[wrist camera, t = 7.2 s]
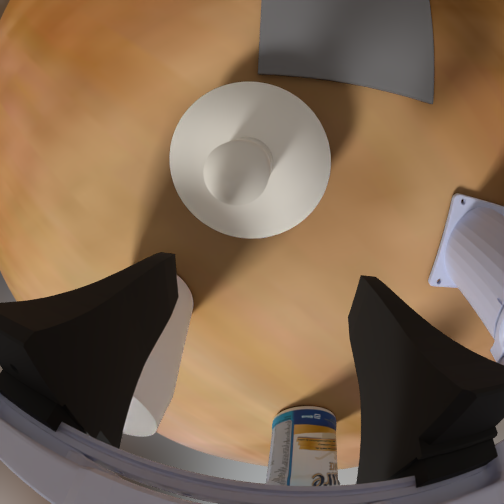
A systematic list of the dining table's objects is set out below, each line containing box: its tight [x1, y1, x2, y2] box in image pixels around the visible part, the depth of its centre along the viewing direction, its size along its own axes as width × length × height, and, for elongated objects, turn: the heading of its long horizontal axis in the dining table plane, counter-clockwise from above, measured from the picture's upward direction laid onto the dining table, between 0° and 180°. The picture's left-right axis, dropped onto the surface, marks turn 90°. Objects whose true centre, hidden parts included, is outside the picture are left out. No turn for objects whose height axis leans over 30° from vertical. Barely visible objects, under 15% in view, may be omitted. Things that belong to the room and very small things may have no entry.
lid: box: [169, 82, 331, 239], centre depth 13 cm, size 9×9×4 cm
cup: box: [123, 275, 193, 436], centre depth 19 cm, size 9×9×12 cm
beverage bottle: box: [265, 406, 340, 486], centre depth 22 cm, size 8×8×20 cm
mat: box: [258, 0, 434, 104], centre depth 12 cm, size 12×12×1 cm
